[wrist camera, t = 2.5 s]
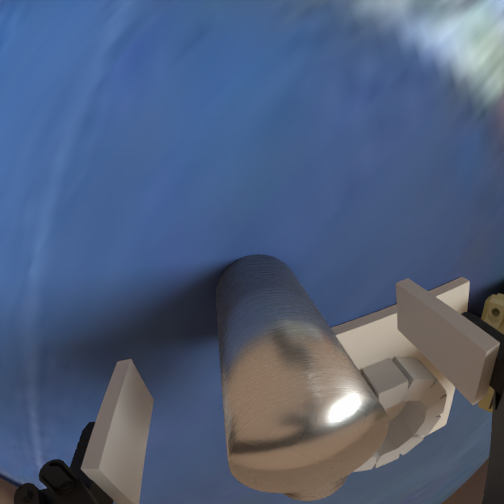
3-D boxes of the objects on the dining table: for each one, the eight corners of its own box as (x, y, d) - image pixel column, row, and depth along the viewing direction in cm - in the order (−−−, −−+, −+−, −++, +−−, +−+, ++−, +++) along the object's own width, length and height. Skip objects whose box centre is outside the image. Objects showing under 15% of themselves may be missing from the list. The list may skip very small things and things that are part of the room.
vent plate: (242, 354, 21) (249, 393, 17) (461, 276, 21) (494, 296, 18) (287, 480, 26) (296, 510, 22) (441, 419, 27) (459, 441, 23)
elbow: (205, 267, 18) (204, 426, 7) (288, 244, 19) (391, 369, 7) (239, 367, 21) (266, 525, 9) (309, 347, 21) (380, 490, 10)
